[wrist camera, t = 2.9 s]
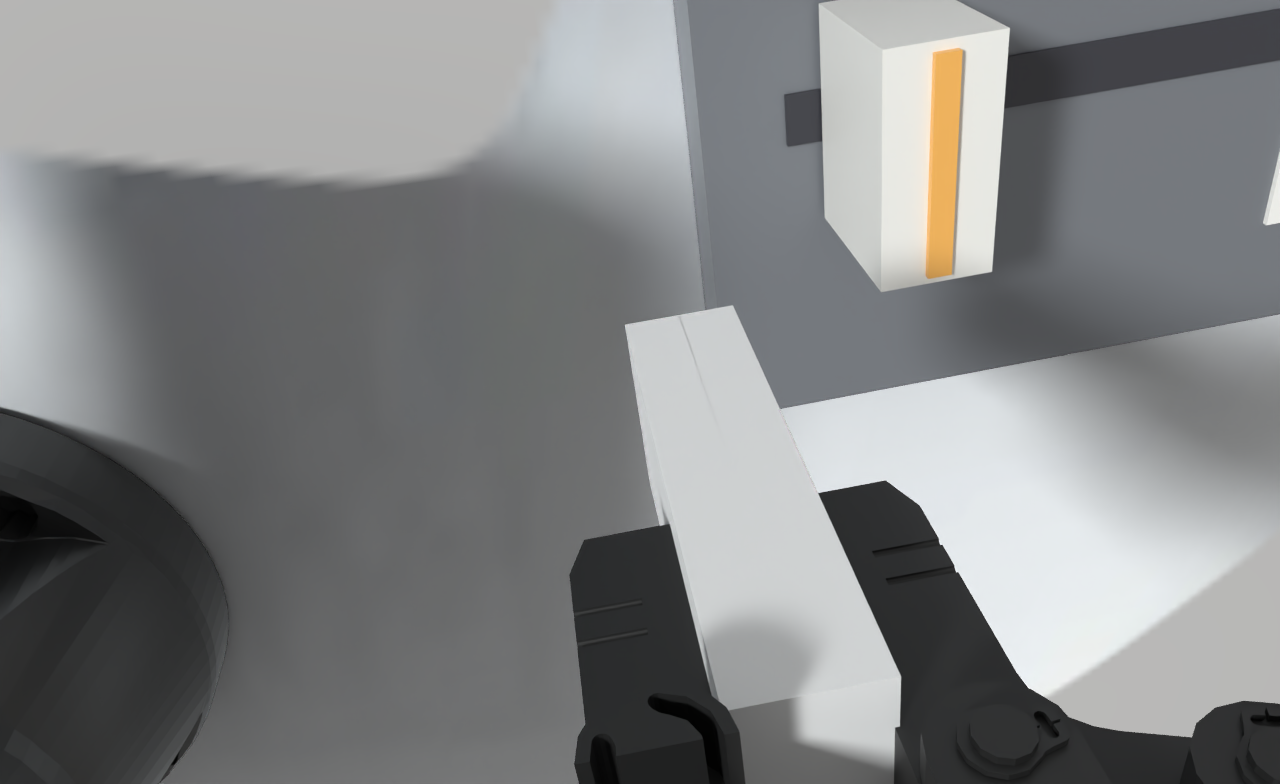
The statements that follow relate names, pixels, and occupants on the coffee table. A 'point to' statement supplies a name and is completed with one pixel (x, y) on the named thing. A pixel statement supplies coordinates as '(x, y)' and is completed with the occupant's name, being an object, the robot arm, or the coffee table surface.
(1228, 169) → the console
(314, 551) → the coffee table surface
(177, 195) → the coffee table surface
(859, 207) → the fader cap
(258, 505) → the coffee table surface
